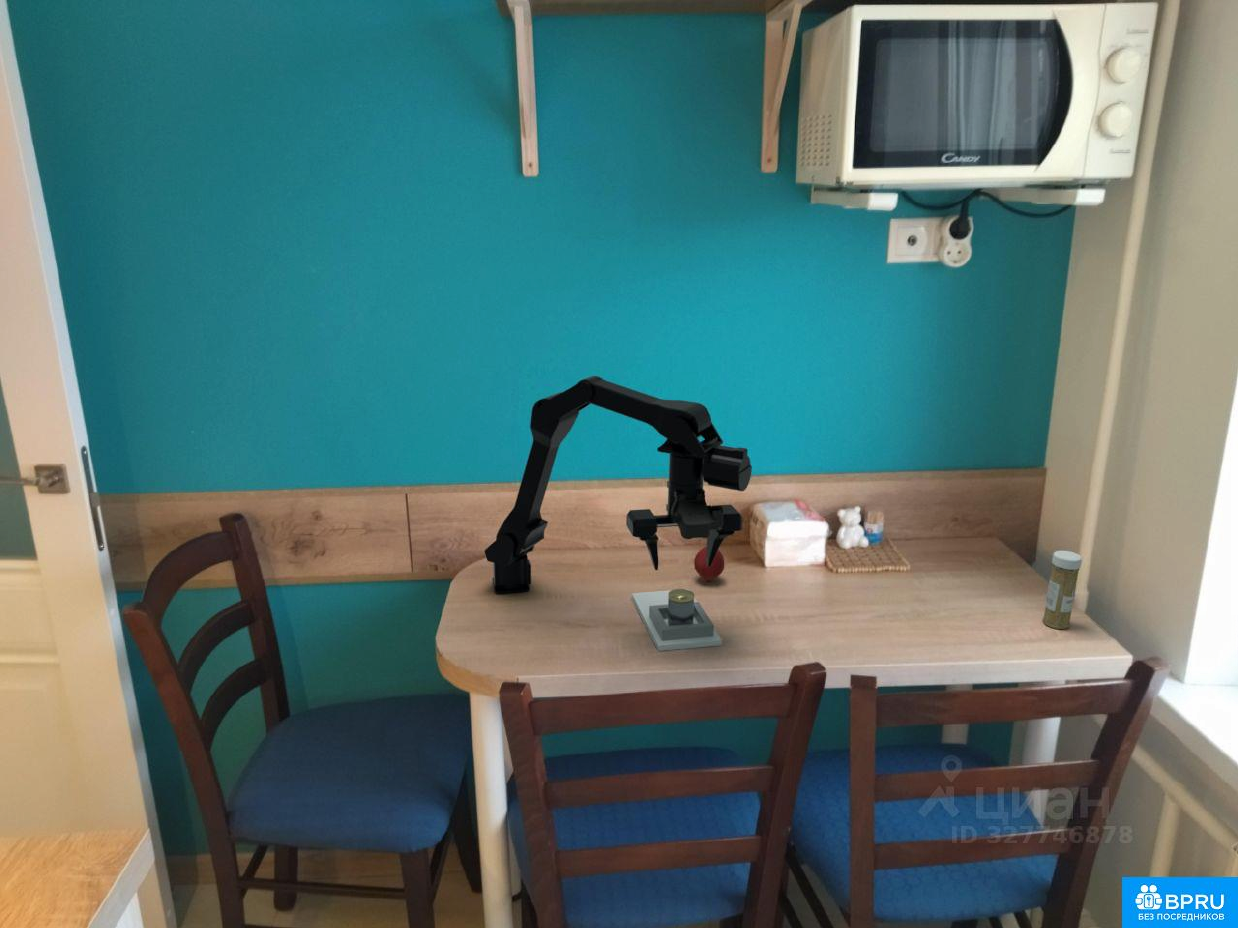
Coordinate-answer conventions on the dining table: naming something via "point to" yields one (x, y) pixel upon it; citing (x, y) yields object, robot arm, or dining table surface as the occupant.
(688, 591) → the lidded tin can
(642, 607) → the dock
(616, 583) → the dining table surface
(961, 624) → the dining table surface
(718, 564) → the onion
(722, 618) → the dining table surface
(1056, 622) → the sprinkles bottle
